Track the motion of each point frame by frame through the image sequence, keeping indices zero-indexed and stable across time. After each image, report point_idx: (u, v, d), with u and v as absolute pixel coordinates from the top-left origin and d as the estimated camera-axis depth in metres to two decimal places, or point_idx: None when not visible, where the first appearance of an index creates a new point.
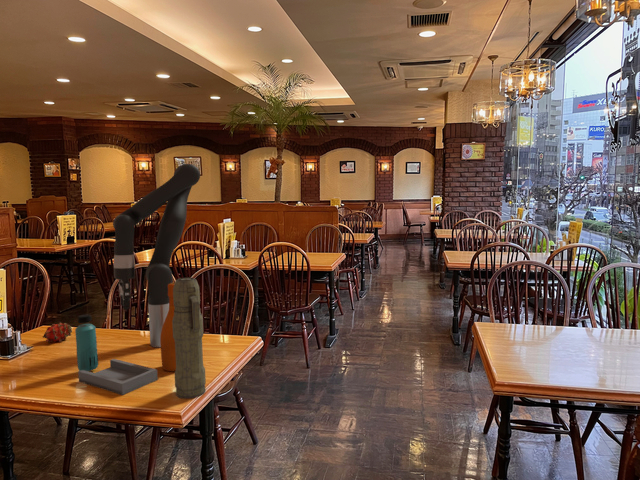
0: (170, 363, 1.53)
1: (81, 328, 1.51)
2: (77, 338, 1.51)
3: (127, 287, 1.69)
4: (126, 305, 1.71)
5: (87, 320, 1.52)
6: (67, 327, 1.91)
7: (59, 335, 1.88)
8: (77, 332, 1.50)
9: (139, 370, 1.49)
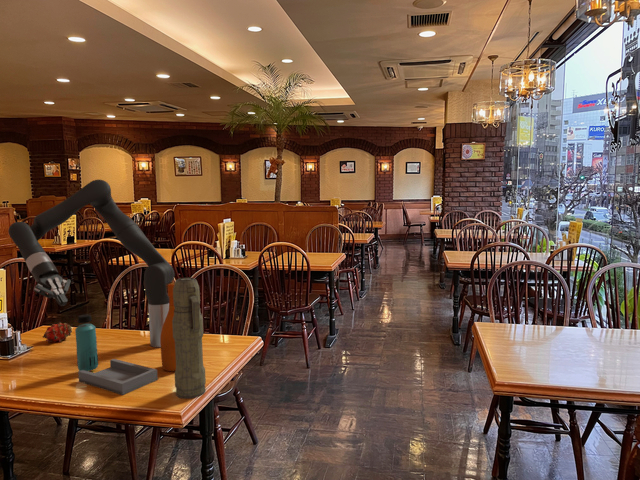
0: (170, 363, 1.53)
1: (81, 328, 1.51)
2: (77, 338, 1.51)
3: None
4: None
5: (87, 320, 1.52)
6: (67, 327, 1.91)
7: (59, 335, 1.88)
8: (77, 332, 1.50)
9: (139, 370, 1.49)
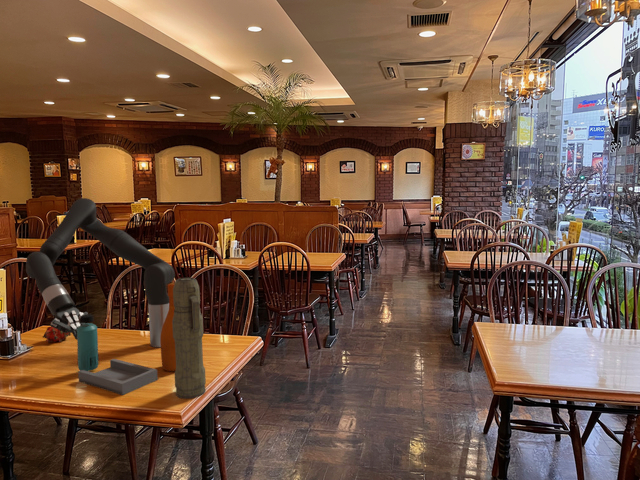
0: (170, 363, 1.53)
1: (83, 328, 1.50)
2: (78, 338, 1.50)
3: None
4: None
5: (89, 320, 1.51)
6: None
7: (59, 335, 1.88)
8: (79, 332, 1.50)
9: (139, 370, 1.49)
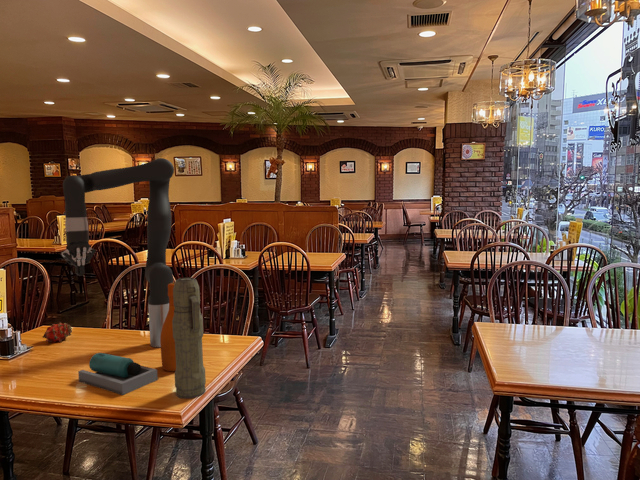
0: (170, 363, 1.53)
1: (122, 373, 1.44)
2: (113, 369, 1.45)
3: None
4: None
5: None
6: (67, 327, 1.91)
7: (59, 335, 1.88)
8: (117, 371, 1.44)
9: None
